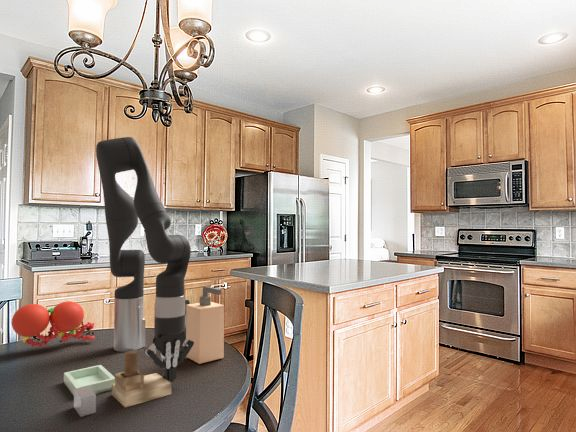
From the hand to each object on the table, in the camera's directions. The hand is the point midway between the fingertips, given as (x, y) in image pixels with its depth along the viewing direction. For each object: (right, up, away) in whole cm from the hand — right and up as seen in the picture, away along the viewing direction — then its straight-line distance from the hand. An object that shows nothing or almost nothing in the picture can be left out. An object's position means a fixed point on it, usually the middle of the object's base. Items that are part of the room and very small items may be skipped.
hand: (169, 381), depth 99 cm
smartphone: (-7, -2, +35) cm, 36 cm away
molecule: (-48, -2, +32) cm, 58 cm away
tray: (-21, -1, +1) cm, 21 cm away
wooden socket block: (-5, -2, -5) cm, 7 cm away
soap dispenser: (+6, -2, +21) cm, 22 cm away
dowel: (-7, +2, -7) cm, 10 cm away
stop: (-15, -1, -13) cm, 20 cm away
